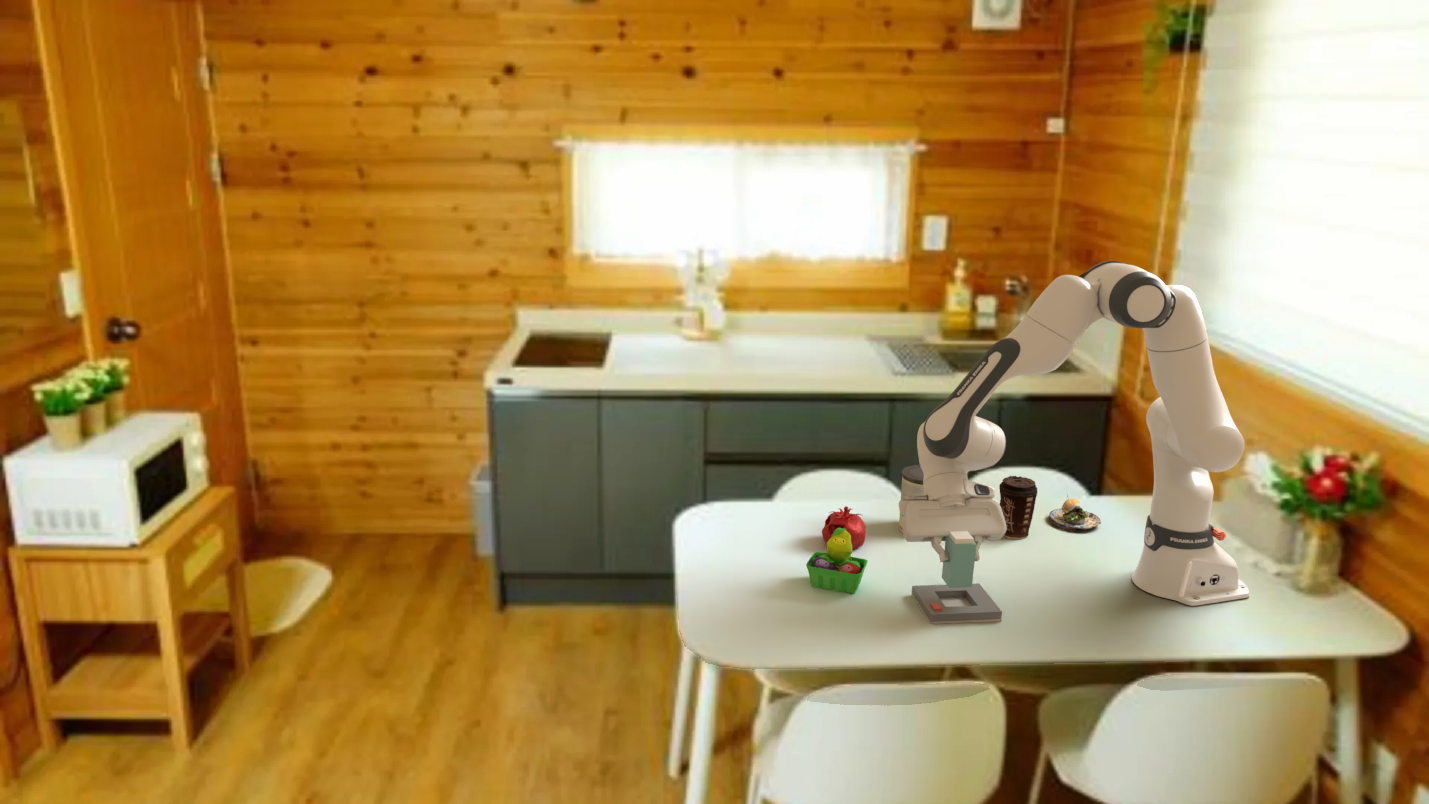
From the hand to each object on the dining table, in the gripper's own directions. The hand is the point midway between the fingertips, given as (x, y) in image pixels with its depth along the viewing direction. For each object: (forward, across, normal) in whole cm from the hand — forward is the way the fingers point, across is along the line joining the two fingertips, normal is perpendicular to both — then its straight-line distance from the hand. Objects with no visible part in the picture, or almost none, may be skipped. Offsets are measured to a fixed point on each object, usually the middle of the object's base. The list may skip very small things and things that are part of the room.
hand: (960, 561), depth 201 cm
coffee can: (-20, +5, +35) cm, 40 cm away
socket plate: (+7, 0, +8) cm, 10 cm away
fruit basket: (-1, -21, +16) cm, 27 cm away
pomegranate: (-15, -15, +30) cm, 37 cm away
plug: (+3, 0, +4) cm, 5 cm away
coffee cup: (-17, +26, +32) cm, 45 cm away
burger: (-20, +43, +35) cm, 60 cm away
